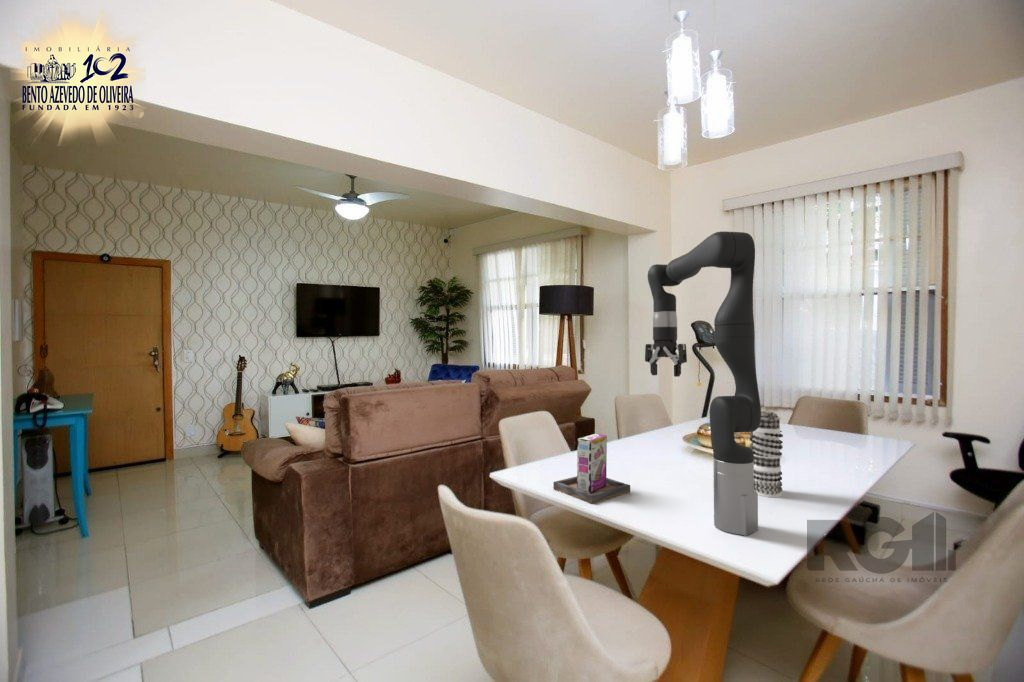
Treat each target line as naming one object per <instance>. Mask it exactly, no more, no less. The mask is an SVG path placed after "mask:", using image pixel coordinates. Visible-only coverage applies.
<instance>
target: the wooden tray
mask: <svg viewBox="0 0 1024 682" xmlns="http://www.w3.org/2000/svg"><path fill="white" fill-rule="evenodd" d="M553 490H555V491H557V492H560V493H563V494H565V495H567V496H570V497H573V498H576V499H578V500H581V501H583V502H586V503H587V504H590V505H592V504H597V503H600V502H603V501H606V500H610V499H612V498H616V497H620V496H623V495H627V494H631V485H630V484H628V483H625V482H622V481H618V480H615V479H612V478H608V477H606V486H604V487H602V488H600V489H598V490H596V491H594V492H593V493H591V494H590V493H587V492H584V491H582V490H579V489H577V476H572V477H568V478H564V479H560V480H557V481H553Z"/></svg>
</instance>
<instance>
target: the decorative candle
mask: <svg viewBox="0 0 1024 682" xmlns="http://www.w3.org/2000/svg"><path fill="white" fill-rule="evenodd" d="M780 420H781V417H780V416H778V414H777V412H772V411H764V410H763V411H762V410H761V422H760V425H759V427H758V429H757V430H755V431H753V432H748V434H749V436H750V437H749V441H750V442H751V443H750V444H749V445H750V446H749V448H750V449H752V450H753V453H754V491H756V492H757V493H758V496H759V497H767V498H780V497H782V496H783V493H782V492H783V482H782V480H783V477H782V476H783V472H782V471H781V470H782V467H781V458H782V455H783V453H782V452H781V451H780V450H781V449H782V450H783V446H782V445H781V444H783V441H782V440H781V438H783V437H784V434H783V433H782V432H783V431H782V430H781V427H780Z"/></svg>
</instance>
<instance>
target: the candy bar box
mask: <svg viewBox="0 0 1024 682" xmlns="http://www.w3.org/2000/svg"><path fill="white" fill-rule="evenodd" d="M607 437H608V435H606V434H597V433H593V434H592V433H591V434H590V435H586V436H582V437H579V438H577V463H576V465H577V472H576V473H577V474H576V475H577V489H579V490H582V491H584V492H587V493H590V494H591V493H593V492H594V491H596V490H598V489H600V488H602V487H604V486H606V478H607V459H608V458H607V451H608V449H607V448H608V444H607V442H608V438H607Z"/></svg>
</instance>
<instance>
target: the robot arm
mask: <svg viewBox="0 0 1024 682" xmlns="http://www.w3.org/2000/svg"><path fill="white" fill-rule="evenodd" d="M755 246H756V245H755V241H754V239H753V236H752V235H751V234H750V233H748V232H742V231H726V230H725V231H716V232H714V233H711V235H709V236H707V237H706V238H705V239H703V240H702V241H701V242H700V243H699V244H697V245H696V246H695V247H693V249H691V250H689V252H686V253H685V254H682V255H680V256H678V257H676V258H673V260H671V261H669V262H668V263H667V264H658V263H657V264H656V263H655V264H653V265H651V266H650V267H649V269H648V272H647V282H648V285H649V288H650V292H651V297H652V300H653V315H652V340H653V343H646V344H645V349H644V352H645V353H644V362H646V363H649V366H650V374H651V376H658V361H659V360H660V359H661V358H669V360H671V361H672V362H673V376H674V377H681V374H682V365H683V364H685V363H687V362H688V356H687V344H686V343H677V341H678V316H677V296H676V295H675V294H673V293H670V292H667V291H666V290H665V289H664V287H676V286H679V285H680V284H681V283H682V282H683V281H685V280H688V279H691V278H693V277H695V276H696V275H697V274H699V273H700V271H701V270H702V269H703V268H711V267H713V268H718V269H730V283H729V285H730V286H729V289H728V291H727V293H726V296H725V298H724V299H723V301H722V303H721V305H720V306H719V307H718V310H717V312H716V314H715V316H714V321H713V322H714V324H713V325H714V345H715V347H716V349H717V352H718V353H719V355H720V356H721V358H722V359H723V361H724V362H725V364H726V365H727V367H728V368H729V370H730V372H731V374H732V376H733V379H734V384H735V391H736V392H735V394H736V395H720V396H716V397H713V399H712V400H711V402H710V405H709V428H710V442H711V447H712V454H713V456H712V457H713V461H712V462H713V463H712V465H713V466H712V467H713V525H714V526H715V528H717V529H719V530H721V531H723V532H725V533H731V534H736V535H742V536H748V535H750V534H752V533H754V532H756V531H759V501H758V500H759V498H758V497H759V495H758V493H757V492H756V491H754V453H753V450H752V449H751V447H750V446H749V447H748V446H746V445H742V444H740V443H738V442H737V441H736V438H735V433H750V432H753V431H755V430H757V429H758V427H759V425H760V422H761V411H762V406H761V399H760V398H761V397H760V393H759V385H758V377H757V370H756V367H757V365H756V350H755V349H756V348H755V347H756V340H755V339H756V334H755V333H756V332H755V318H754V317H755V315H754V279H755V278H754V277H755V262H756V247H755ZM677 351H678V352H677Z"/></svg>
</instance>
